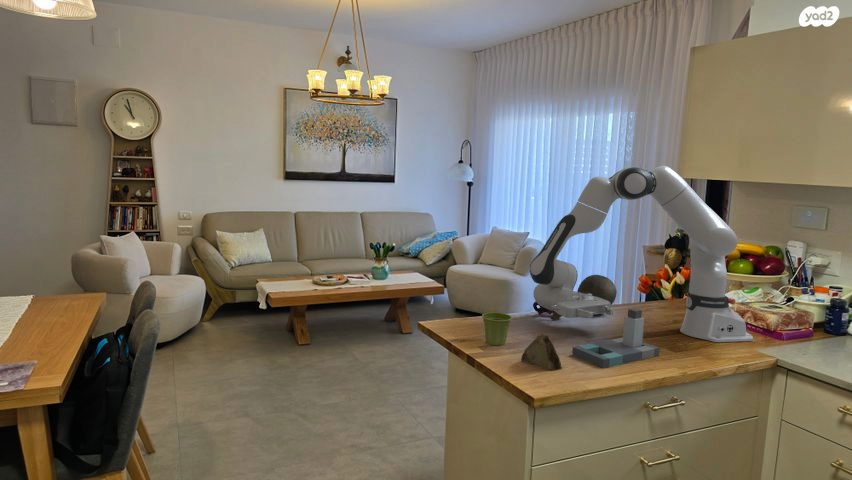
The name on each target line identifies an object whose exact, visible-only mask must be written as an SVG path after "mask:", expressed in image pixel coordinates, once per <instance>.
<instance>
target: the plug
mask: <svg viewBox="0 0 852 480" xmlns="http://www.w3.org/2000/svg"><path fill="white" fill-rule="evenodd" d="M642 313H643V309H639V308H635V307H634V308H628V309H627V316H626V315H625V316H624V318H623V319H624V320H623V321H624V322H623V334H622V338H623V343H622V344H623V345H626V346H629V347H632V348H636V347H641V346H642V342H643V338H644V327H645V326H644V325H645V318H644V317H642V315H643V314H642Z"/></svg>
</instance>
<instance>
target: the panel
mask: <svg viewBox="0 0 852 480" xmlns="http://www.w3.org/2000/svg"><path fill="white" fill-rule="evenodd" d="M622 343H623V337H619V338H614V339H608V340H601V341H598V342H593V343H587V344H582V345H577V346H572V356H573V357H576V358H578V359H580V360H582V361H585V362H588V363H590V364H593V365H594V366H595V365H596V366H597V367H600V368H603V369H607V368H609V367H615V366H619V365H623V364H627V363H632V362H637V361H641V360H645V359H650V358H654V357H660V356H659V355H660V347H659V346H655V345H652V344H649V343H647V342H643V341H642V346H641V347H636V348H632V347H629V346H626V345H623V344H622Z"/></svg>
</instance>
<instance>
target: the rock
mask: <svg viewBox="0 0 852 480" xmlns="http://www.w3.org/2000/svg"><path fill="white" fill-rule="evenodd" d="M520 359H521V362H523V363H526V364H529V365H531V366H535V367H537V368H541V369H545V370H548V371H549V370H550V371H556V370H557V371H559V370H562V369H563V367H562V363H561V360H560V359H561V358H560V357H559V355H558V353H557V351H556V348H555V345H554V344H553V342H552V340H551V339H550V337H549V335H546V334H544V333H541V334H539V335H537V336H536V337H535V338H534V339H533V341H531V343H530V344H529V345H528V346H527V347H526V348H525V349H524V352H523V353H522V354H521V358H520Z"/></svg>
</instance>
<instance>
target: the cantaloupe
mask: <svg viewBox="0 0 852 480" xmlns="http://www.w3.org/2000/svg"><path fill="white" fill-rule="evenodd" d="M576 292H579V293H590V294H592V296H595V297H599V298H602V299H604V300H607V301H609V302H610V303H611V306H612V305H613V304H614V303H615V300H616V297H617V294H618V293H617V288H616V285H615V283H614V282H613V280H611V279H610V278H608V277H607V276H604V275H601V274H592V275H588V276H586V277H585V278H584V279H583V280H582V281H581V282H580V284H579V286H578V288H577V291H576Z"/></svg>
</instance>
